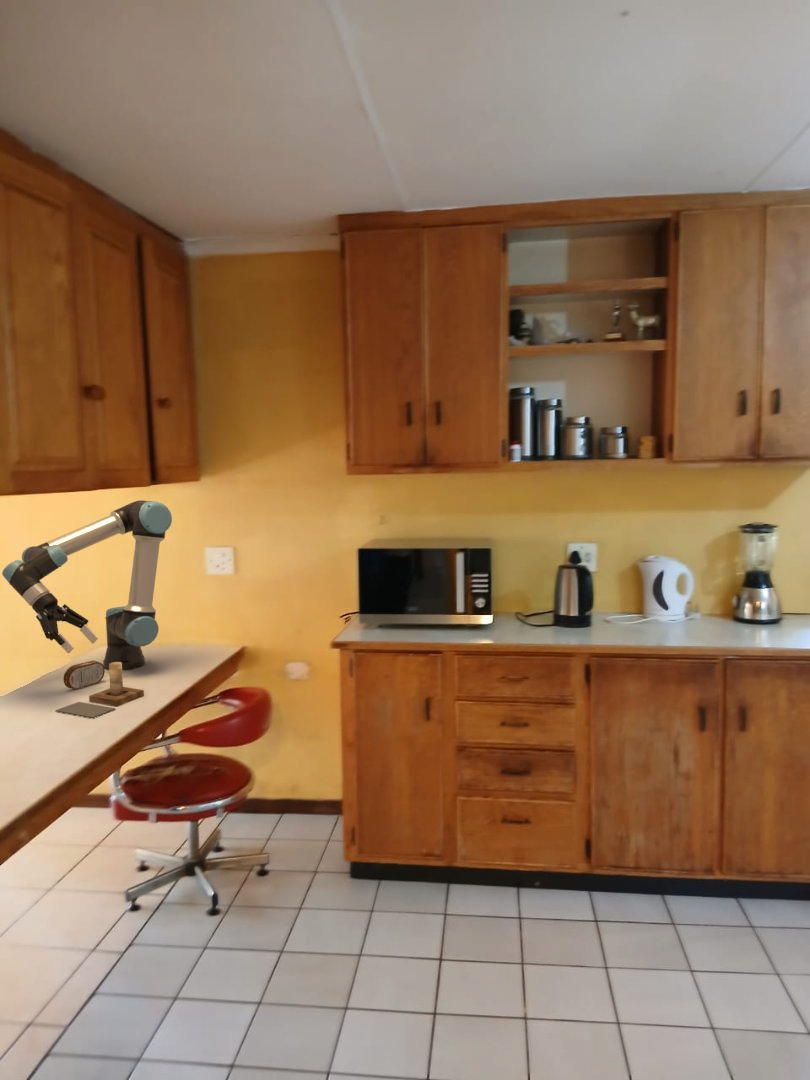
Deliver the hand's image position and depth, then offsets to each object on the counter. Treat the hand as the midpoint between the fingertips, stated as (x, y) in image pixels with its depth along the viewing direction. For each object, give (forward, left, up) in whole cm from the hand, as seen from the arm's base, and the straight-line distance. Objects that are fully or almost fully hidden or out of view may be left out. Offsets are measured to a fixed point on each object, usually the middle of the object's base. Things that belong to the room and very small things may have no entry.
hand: (83, 645), depth 244 cm
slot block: (-3, +10, -18) cm, 21 cm away
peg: (-3, +10, -18) cm, 21 cm away
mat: (+10, +10, -18) cm, 23 cm away
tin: (-9, -11, -18) cm, 23 cm away
